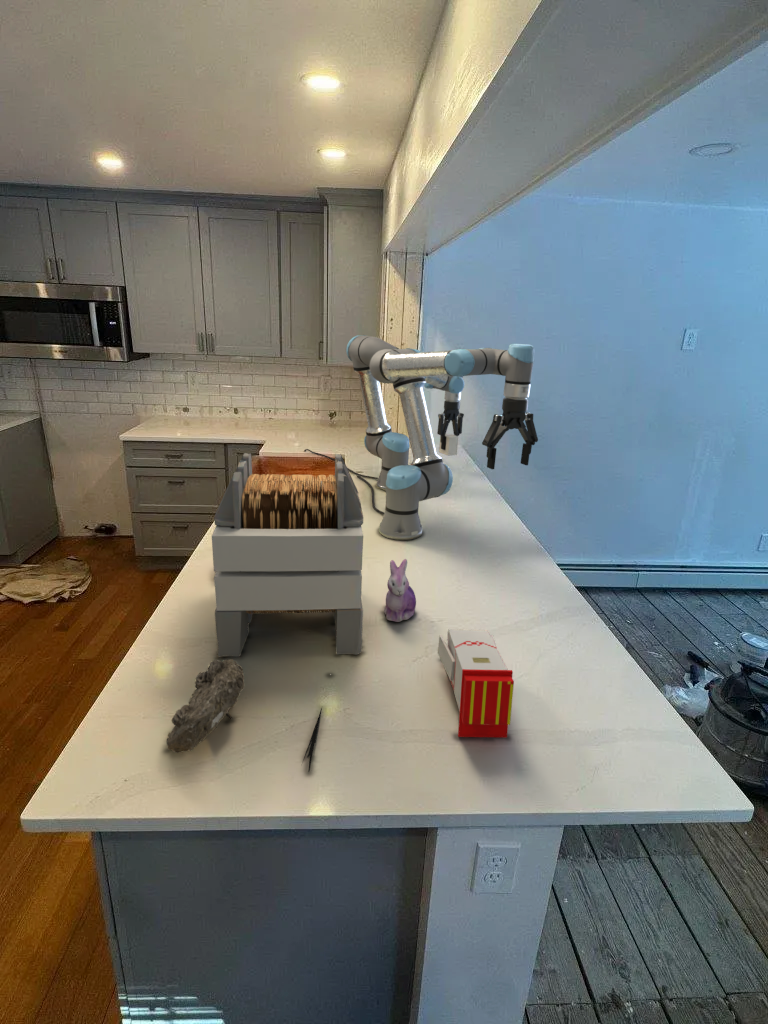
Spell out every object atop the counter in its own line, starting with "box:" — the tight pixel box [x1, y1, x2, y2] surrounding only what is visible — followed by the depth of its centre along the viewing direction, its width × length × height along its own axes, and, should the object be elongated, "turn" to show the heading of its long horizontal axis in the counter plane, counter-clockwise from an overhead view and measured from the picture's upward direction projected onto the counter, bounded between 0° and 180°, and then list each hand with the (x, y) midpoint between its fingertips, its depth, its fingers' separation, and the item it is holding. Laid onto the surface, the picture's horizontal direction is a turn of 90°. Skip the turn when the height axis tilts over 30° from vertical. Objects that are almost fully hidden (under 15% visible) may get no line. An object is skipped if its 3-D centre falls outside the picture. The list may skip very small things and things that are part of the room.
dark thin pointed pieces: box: [301, 673, 332, 771], centre depth 108 cm, size 2×28×2 cm
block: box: [438, 432, 459, 456], centre depth 275 cm, size 5×8×9 cm
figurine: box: [384, 558, 417, 623], centre depth 145 cm, size 9×10×15 cm
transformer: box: [211, 452, 364, 658], centre depth 136 cm, size 34×33×41 cm
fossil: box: [166, 658, 245, 754], centre depth 106 cm, size 22×10×15 cm
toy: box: [437, 628, 515, 738], centre depth 117 cm, size 12×13×30 cm
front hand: (507, 466), depth 177 cm, fingers open, 13 cm apart
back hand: (448, 448), depth 275 cm, fingers closed on block, 5 cm apart
